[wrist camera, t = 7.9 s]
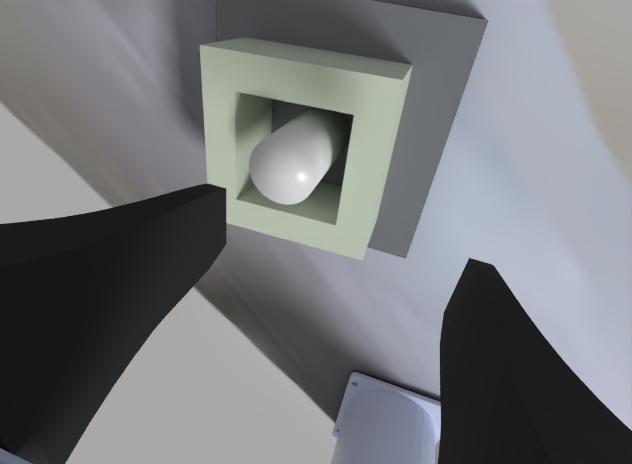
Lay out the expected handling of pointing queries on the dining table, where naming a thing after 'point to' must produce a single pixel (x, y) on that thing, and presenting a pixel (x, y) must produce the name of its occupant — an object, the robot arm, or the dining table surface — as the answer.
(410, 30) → the post stand
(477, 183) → the dining table surface
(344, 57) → the collar
